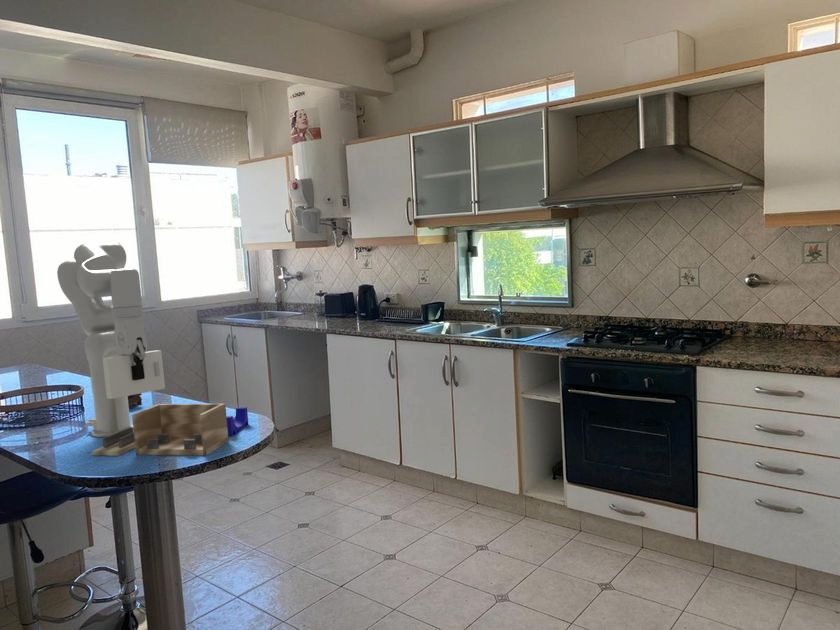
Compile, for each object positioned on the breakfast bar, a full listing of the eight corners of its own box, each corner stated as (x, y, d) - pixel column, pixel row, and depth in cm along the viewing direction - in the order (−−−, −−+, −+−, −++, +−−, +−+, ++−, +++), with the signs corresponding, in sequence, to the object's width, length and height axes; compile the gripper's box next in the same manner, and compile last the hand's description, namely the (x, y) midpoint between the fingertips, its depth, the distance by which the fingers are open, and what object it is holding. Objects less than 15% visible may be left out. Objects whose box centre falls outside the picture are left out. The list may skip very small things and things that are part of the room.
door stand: (92, 455, 174) (91, 442, 173) (134, 436, 191) (132, 424, 191) (118, 455, 172) (117, 442, 172) (158, 436, 190) (156, 424, 189)
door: (112, 399, 170) (108, 358, 169) (106, 398, 172) (102, 358, 171) (166, 388, 181) (162, 350, 180) (160, 387, 183) (156, 350, 183)
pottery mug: (150, 404, 234) (146, 387, 229) (135, 422, 226) (130, 404, 222) (121, 398, 236) (116, 381, 231) (105, 415, 228) (100, 398, 224)
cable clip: (234, 426, 197) (233, 407, 197) (248, 425, 197) (247, 407, 196) (217, 437, 185) (215, 417, 185) (232, 437, 185) (230, 417, 184)
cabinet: (136, 454, 172) (132, 414, 171) (161, 441, 184) (158, 404, 183) (206, 455, 168) (203, 414, 167) (228, 441, 180) (225, 403, 179)
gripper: (102, 315, 178) (109, 379, 179) (127, 314, 167) (135, 383, 168) (129, 312, 183) (136, 375, 185) (155, 311, 172) (162, 378, 174)
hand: (135, 378), depth 176 cm, fingers closed on door, 3 cm apart
